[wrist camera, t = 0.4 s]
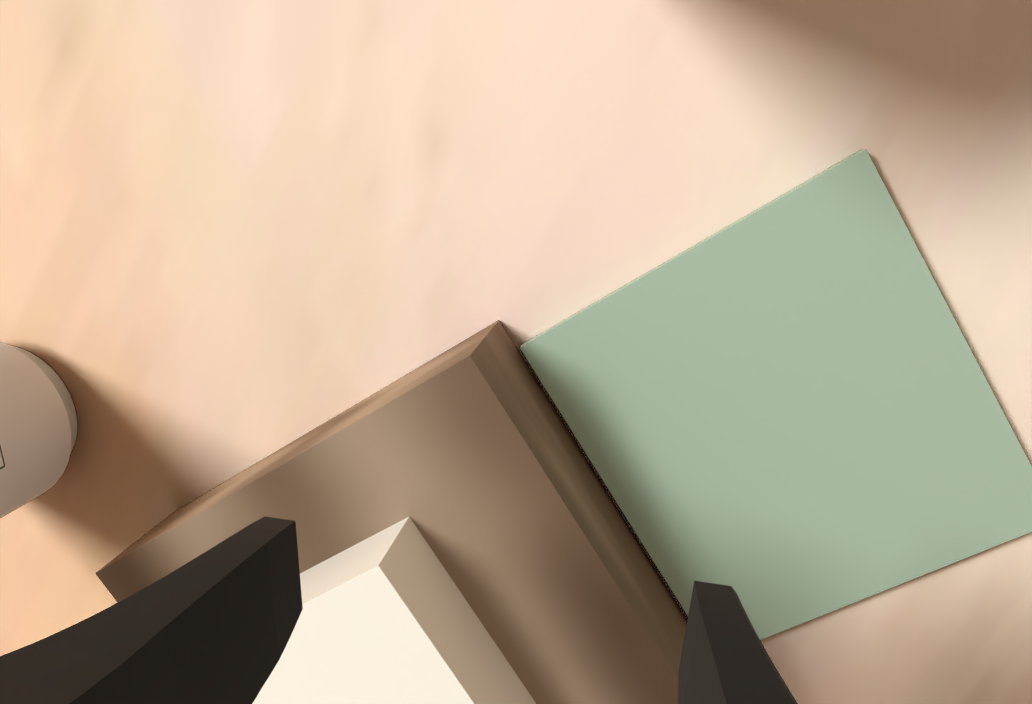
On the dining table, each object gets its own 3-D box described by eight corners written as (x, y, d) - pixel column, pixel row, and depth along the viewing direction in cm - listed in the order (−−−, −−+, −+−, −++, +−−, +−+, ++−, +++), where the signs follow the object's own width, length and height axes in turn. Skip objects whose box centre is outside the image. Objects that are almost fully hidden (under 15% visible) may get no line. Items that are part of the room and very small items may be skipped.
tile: (396, 802, 23) (368, 878, 21) (248, 600, 22) (200, 655, 20) (560, 739, 21) (550, 813, 19) (409, 516, 20) (378, 565, 18)
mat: (713, 650, 24) (714, 658, 24) (521, 344, 23) (519, 348, 22) (1052, 513, 21) (1060, 520, 21) (861, 149, 20) (866, 149, 19)
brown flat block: (418, 844, 29) (384, 951, 25) (174, 511, 26) (95, 573, 23) (751, 722, 25) (770, 826, 21) (498, 319, 23) (469, 355, 19)
